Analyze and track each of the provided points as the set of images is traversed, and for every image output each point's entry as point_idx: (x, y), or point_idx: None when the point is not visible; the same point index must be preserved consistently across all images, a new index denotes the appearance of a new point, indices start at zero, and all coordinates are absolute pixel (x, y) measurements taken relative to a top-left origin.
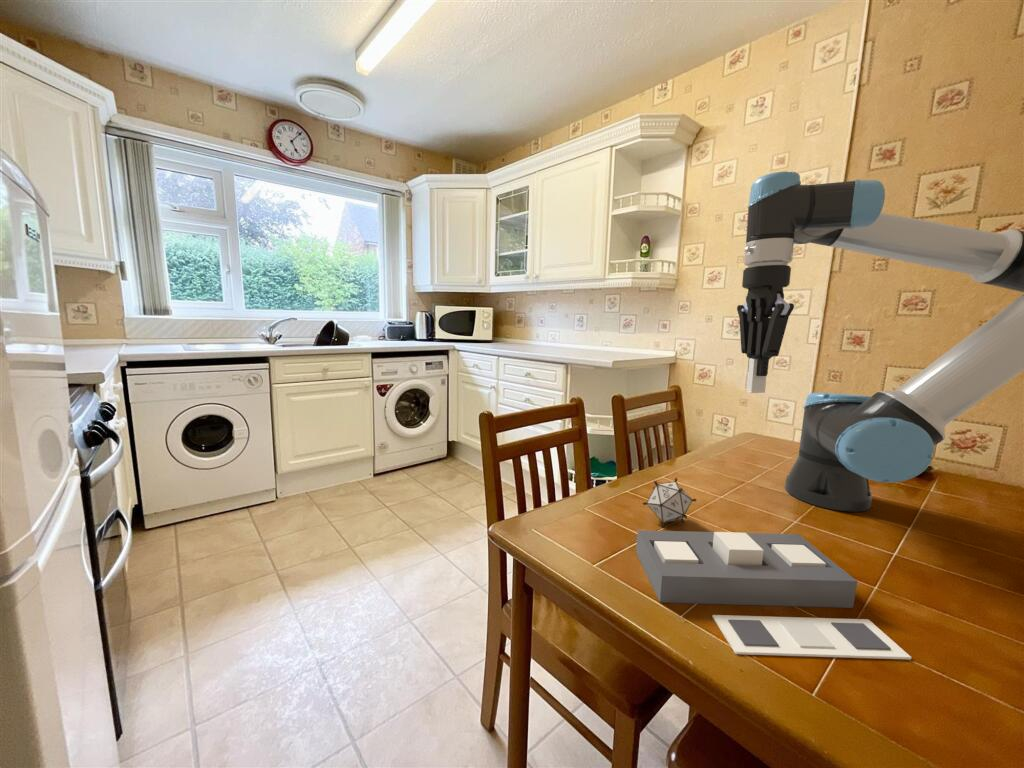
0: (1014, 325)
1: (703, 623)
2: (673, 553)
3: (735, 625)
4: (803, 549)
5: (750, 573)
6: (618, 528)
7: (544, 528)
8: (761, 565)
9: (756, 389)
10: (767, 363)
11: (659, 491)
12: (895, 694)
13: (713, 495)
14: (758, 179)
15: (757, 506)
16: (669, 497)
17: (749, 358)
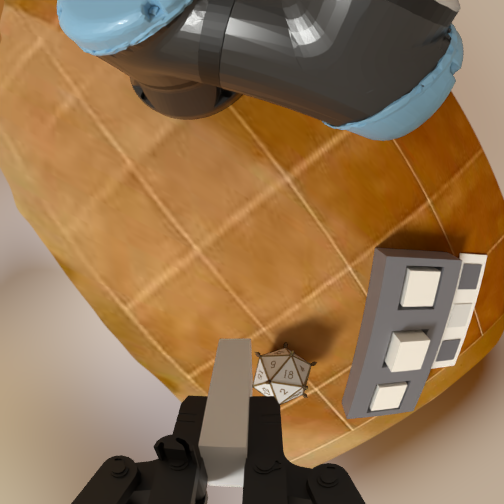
0: None
1: (429, 374)
2: (393, 400)
3: (441, 359)
4: (417, 277)
5: (432, 349)
6: (293, 408)
7: (287, 456)
8: (422, 331)
9: (251, 374)
10: (280, 444)
11: (288, 400)
12: (495, 289)
13: (192, 259)
14: None
15: (233, 206)
16: (302, 391)
17: (210, 484)
